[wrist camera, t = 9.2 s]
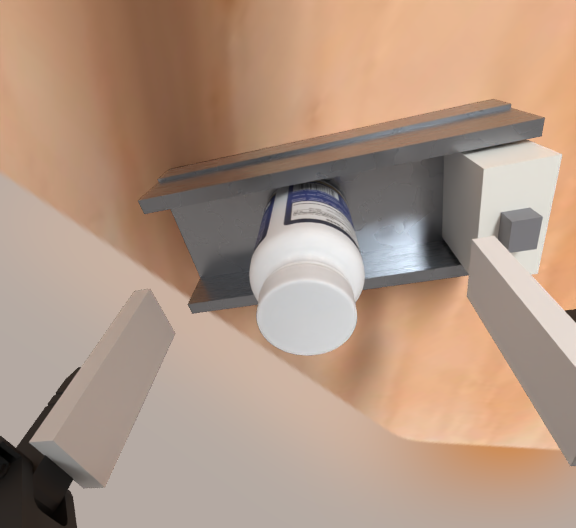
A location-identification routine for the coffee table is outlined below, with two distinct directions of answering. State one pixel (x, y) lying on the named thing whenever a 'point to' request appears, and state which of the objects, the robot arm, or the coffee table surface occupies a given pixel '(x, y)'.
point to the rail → (349, 182)
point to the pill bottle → (307, 269)
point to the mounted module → (500, 199)
